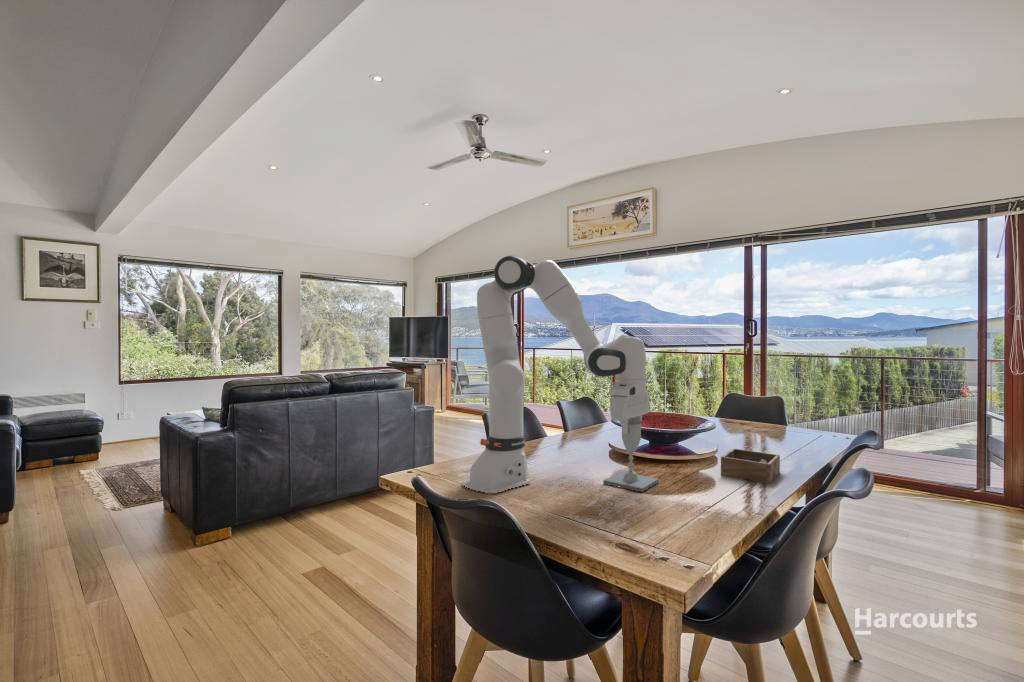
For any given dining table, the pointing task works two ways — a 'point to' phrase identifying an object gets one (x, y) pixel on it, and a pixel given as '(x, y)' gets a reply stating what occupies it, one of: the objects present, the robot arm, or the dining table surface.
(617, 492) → the dining table surface
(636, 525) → the dining table surface
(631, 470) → the chalice
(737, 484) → the dining table surface
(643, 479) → the slate board
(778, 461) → the walnut display box
